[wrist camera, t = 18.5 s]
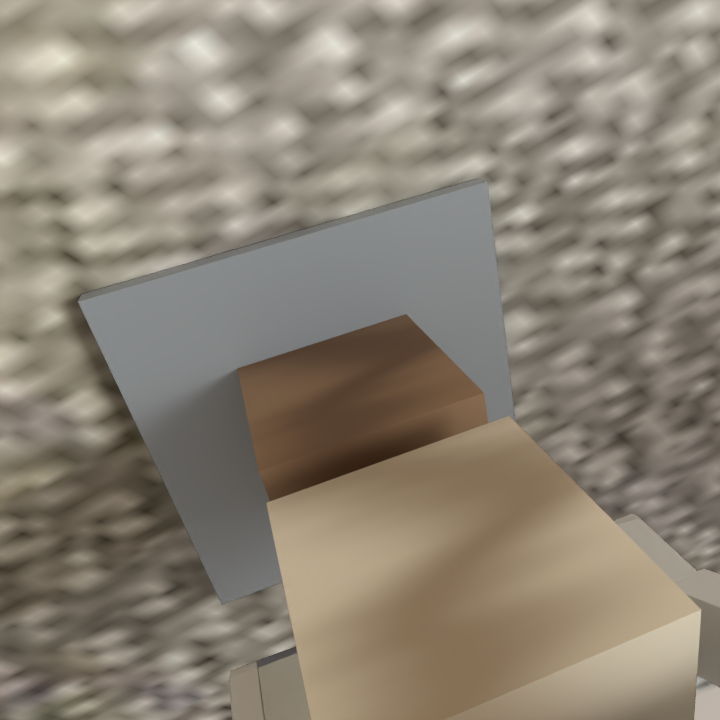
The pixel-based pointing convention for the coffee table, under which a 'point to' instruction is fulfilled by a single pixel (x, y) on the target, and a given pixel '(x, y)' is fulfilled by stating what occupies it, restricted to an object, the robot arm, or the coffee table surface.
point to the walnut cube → (353, 404)
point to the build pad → (289, 347)
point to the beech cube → (478, 593)
